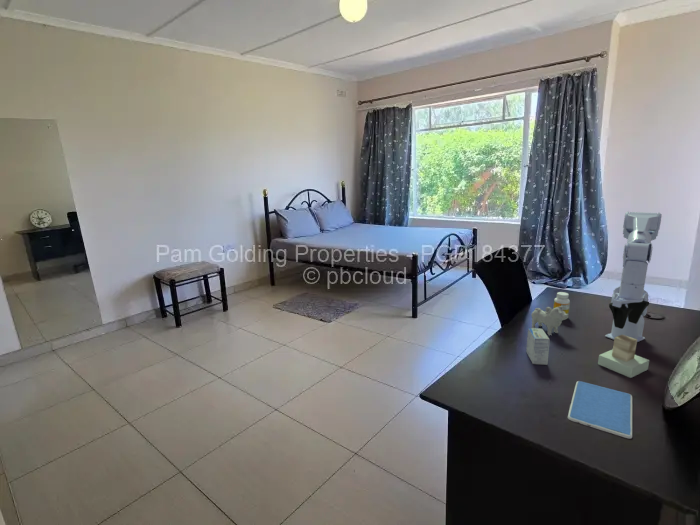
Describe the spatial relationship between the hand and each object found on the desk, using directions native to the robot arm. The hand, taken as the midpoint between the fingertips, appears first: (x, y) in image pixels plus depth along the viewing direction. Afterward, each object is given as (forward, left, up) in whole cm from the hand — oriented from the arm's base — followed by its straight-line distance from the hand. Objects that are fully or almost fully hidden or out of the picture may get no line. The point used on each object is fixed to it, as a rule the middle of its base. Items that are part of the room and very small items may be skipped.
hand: (625, 325), depth 115 cm
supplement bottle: (-13, -29, -11) cm, 34 cm away
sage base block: (+7, +4, -10) cm, 13 cm away
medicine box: (+24, -12, -11) cm, 29 cm away
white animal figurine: (+3, -23, -11) cm, 26 cm away
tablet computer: (+32, +12, -11) cm, 36 cm away
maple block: (+7, +3, -7) cm, 11 cm away
